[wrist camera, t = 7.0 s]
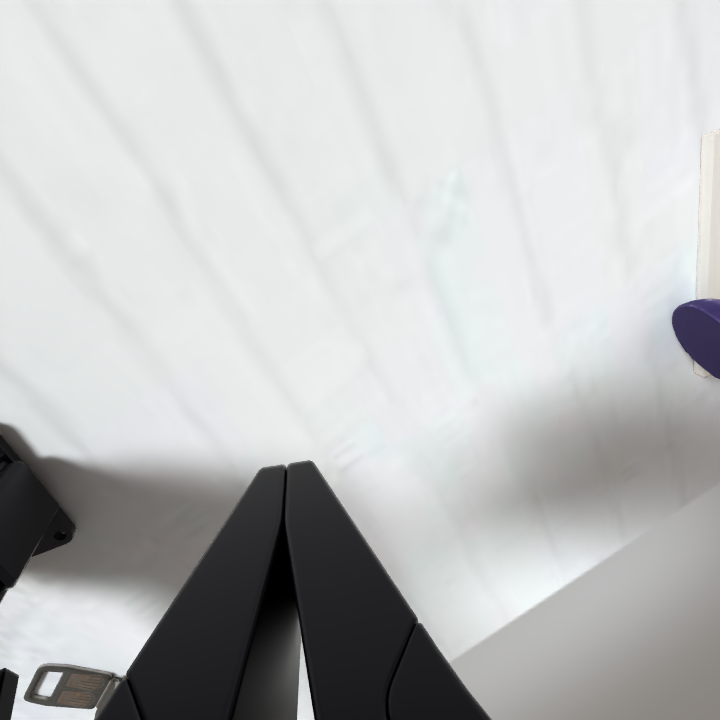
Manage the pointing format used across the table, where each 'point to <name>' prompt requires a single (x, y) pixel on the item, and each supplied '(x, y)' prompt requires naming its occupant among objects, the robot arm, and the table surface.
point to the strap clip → (74, 687)
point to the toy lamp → (700, 332)
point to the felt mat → (709, 225)
